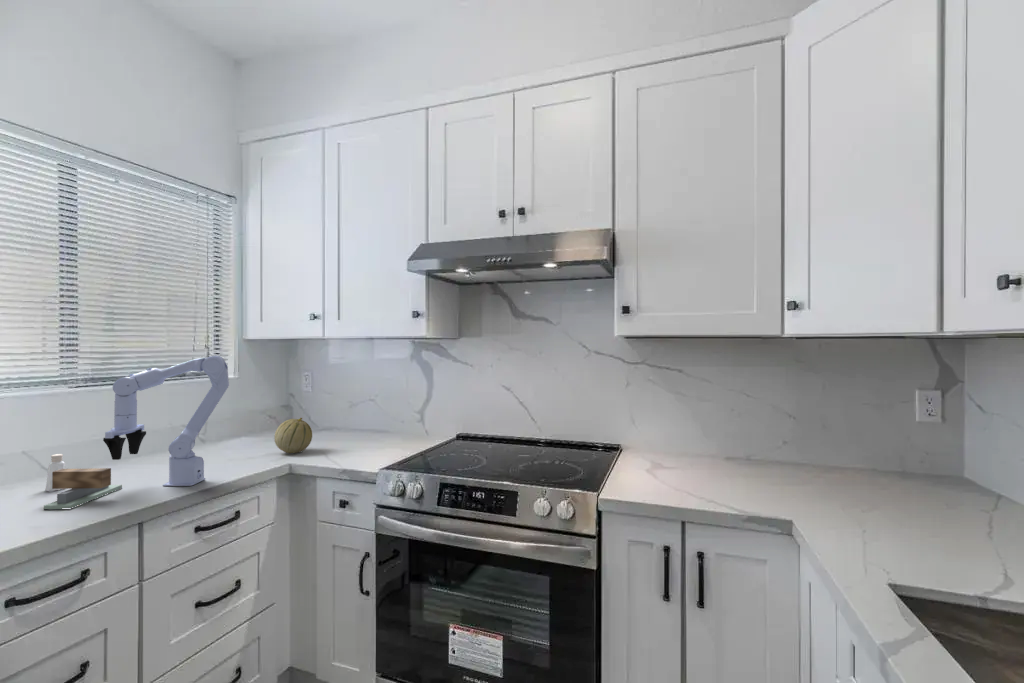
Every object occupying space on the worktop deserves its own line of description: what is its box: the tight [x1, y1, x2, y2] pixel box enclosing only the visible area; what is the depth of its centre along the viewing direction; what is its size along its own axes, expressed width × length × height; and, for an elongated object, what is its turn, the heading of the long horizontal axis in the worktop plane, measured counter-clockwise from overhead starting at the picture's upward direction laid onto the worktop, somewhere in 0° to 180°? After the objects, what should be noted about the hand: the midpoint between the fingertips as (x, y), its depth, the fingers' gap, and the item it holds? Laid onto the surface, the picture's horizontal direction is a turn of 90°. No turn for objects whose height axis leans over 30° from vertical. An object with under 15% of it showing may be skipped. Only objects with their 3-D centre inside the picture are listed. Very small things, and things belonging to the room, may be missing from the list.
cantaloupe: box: [273, 417, 313, 454], centre depth 211 cm, size 15×15×15 cm
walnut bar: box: [52, 467, 112, 490], centre depth 148 cm, size 14×4×5 cm, turn 93°
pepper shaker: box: [44, 453, 67, 492], centre depth 159 cm, size 5×5×11 cm
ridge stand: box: [43, 484, 123, 510], centre depth 149 cm, size 7×20×4 cm, turn 3°
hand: (125, 456), depth 159 cm, fingers open, 7 cm apart
